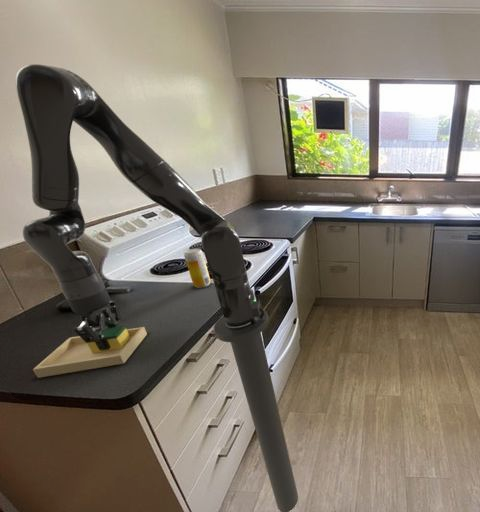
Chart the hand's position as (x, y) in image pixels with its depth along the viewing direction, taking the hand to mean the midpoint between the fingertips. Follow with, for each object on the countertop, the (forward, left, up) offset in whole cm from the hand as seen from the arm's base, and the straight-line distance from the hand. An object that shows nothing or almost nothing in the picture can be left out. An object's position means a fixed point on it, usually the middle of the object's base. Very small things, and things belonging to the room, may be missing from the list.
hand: (111, 342), depth 81 cm
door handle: (+22, -35, -2) cm, 41 cm away
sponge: (0, 0, -1) cm, 1 cm away
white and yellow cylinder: (-13, -35, -2) cm, 37 cm away
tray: (+3, +2, -2) cm, 4 cm away
